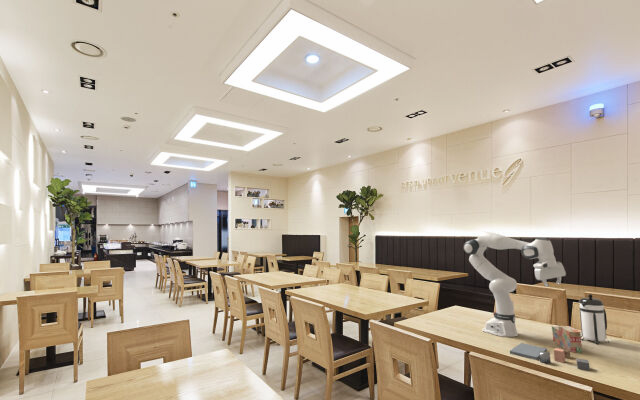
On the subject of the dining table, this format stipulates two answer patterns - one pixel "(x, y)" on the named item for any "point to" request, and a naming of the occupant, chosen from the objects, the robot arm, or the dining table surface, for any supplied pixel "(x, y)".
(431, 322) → the dining table surface
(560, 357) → the terracotta block
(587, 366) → the charcoal rubber cube
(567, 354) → the walnut block
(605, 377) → the dining table surface
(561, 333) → the stack of blocks
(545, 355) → the dark metal cylinder
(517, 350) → the slate board
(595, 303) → the coffee press
